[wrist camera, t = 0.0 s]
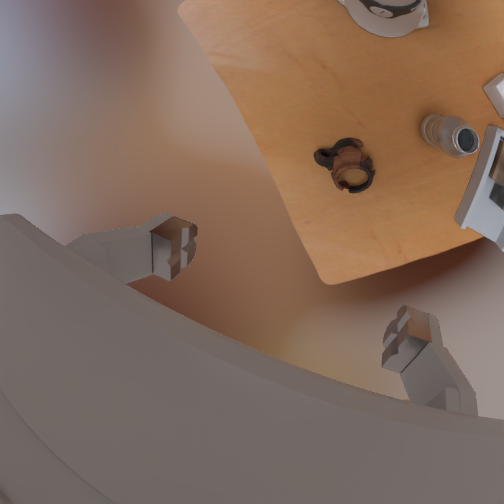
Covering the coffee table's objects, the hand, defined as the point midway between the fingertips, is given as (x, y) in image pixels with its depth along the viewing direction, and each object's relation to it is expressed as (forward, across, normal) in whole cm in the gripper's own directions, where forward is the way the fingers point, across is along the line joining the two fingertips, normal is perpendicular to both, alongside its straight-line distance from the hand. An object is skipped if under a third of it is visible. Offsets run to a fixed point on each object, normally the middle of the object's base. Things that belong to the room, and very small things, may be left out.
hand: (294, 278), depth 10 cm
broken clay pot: (+48, 0, +4) cm, 48 cm away
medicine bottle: (+48, -28, -24) cm, 61 cm away
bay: (+48, -34, -5) cm, 59 cm away
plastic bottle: (+48, -15, -9) cm, 51 cm away
